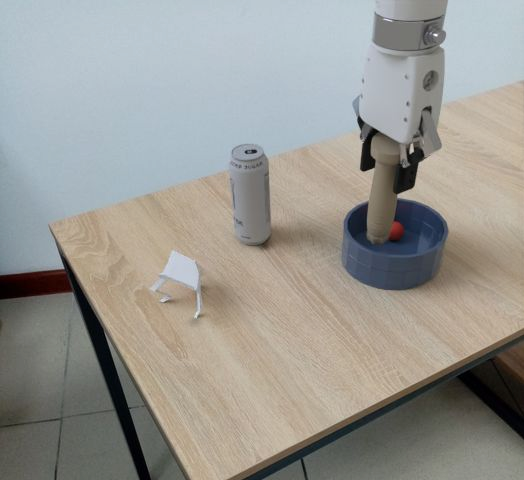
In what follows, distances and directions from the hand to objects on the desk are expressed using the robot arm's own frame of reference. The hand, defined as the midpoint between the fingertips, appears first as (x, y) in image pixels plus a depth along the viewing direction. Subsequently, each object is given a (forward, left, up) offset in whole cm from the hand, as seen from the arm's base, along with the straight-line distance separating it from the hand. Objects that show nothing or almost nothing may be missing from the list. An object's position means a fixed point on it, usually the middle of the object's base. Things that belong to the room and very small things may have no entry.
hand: (386, 178), depth 71 cm
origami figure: (+28, -9, -15) cm, 33 cm away
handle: (0, 0, -10) cm, 10 cm away
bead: (-6, -3, -12) cm, 14 cm away
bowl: (-3, 0, -15) cm, 15 cm away
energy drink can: (+12, -17, -15) cm, 26 cm away
